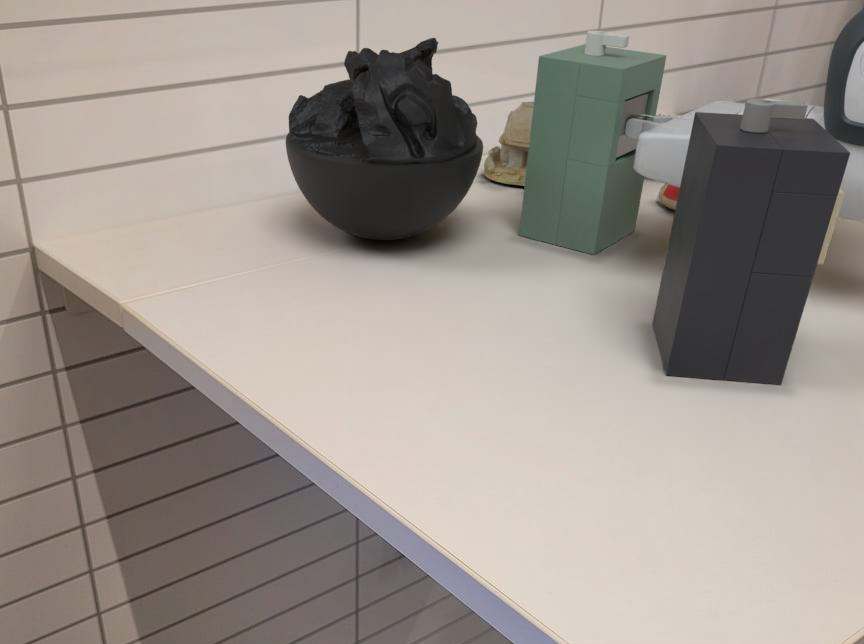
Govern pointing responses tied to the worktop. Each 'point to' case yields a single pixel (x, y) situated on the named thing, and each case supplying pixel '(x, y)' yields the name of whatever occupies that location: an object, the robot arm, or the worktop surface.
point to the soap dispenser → (586, 143)
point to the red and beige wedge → (669, 196)
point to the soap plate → (631, 110)
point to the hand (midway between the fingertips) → (631, 125)
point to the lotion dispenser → (745, 241)
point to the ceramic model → (512, 148)
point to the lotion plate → (831, 227)
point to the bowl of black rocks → (384, 145)
